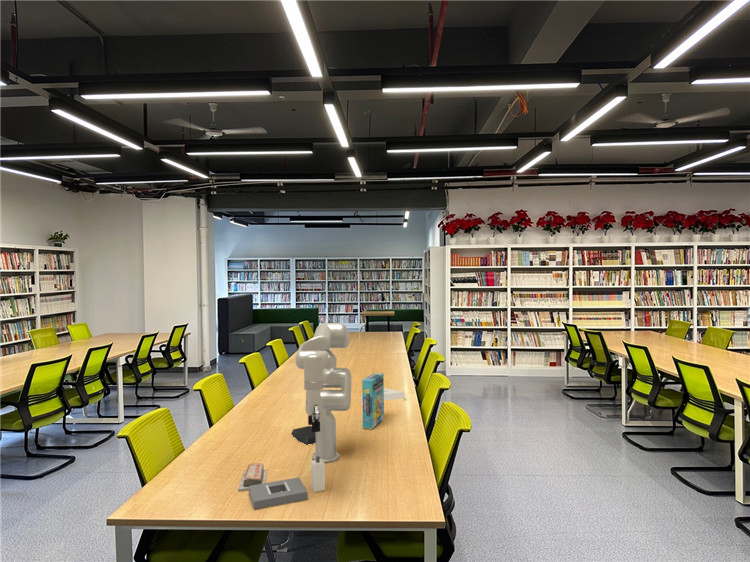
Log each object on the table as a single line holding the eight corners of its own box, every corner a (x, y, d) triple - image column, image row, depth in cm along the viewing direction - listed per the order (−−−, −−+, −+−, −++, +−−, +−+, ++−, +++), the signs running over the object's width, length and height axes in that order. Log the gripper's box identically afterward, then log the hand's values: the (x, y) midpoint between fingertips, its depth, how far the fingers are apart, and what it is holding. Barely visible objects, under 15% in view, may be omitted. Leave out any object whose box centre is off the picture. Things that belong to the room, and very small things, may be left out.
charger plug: (311, 487, 192) (310, 455, 192) (321, 485, 194) (321, 454, 193) (314, 492, 188) (313, 459, 188) (324, 490, 190) (324, 458, 189)
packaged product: (243, 462, 207) (267, 461, 208) (244, 473, 207) (267, 472, 208) (237, 480, 189) (263, 478, 191) (238, 492, 189) (263, 490, 191)
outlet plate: (249, 493, 188) (248, 485, 187) (299, 484, 195) (299, 476, 195) (254, 509, 175) (253, 500, 174) (307, 499, 182) (307, 490, 182)
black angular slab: (311, 431, 261) (311, 424, 261) (328, 441, 245) (328, 433, 245) (289, 436, 254) (289, 428, 254) (305, 447, 238) (305, 438, 238)
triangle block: (404, 401, 320) (404, 392, 320) (378, 409, 301) (377, 399, 301) (372, 393, 341) (372, 385, 340) (345, 401, 322) (345, 391, 322)
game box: (373, 430, 261) (372, 380, 261) (362, 428, 263) (361, 380, 263) (384, 419, 281) (384, 373, 280) (374, 418, 283) (373, 372, 282)
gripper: (301, 381, 197) (301, 422, 197) (307, 390, 180) (307, 435, 180) (319, 380, 199) (319, 421, 199) (327, 389, 182) (327, 433, 182)
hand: (314, 428), depth 190 cm, fingers open, 9 cm apart
